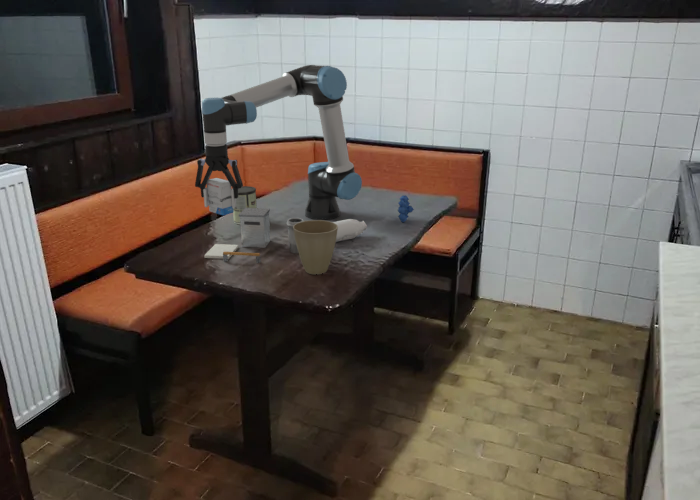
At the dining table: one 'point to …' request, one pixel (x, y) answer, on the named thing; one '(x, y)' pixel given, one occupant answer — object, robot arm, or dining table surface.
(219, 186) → the ink box
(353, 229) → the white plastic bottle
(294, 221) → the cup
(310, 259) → the plant pot
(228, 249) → the tile
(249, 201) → the coffee can
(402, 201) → the grapes
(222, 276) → the dining table surface
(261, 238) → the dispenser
